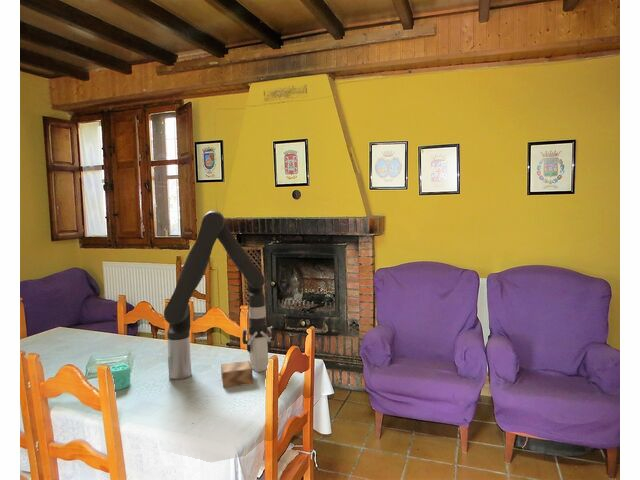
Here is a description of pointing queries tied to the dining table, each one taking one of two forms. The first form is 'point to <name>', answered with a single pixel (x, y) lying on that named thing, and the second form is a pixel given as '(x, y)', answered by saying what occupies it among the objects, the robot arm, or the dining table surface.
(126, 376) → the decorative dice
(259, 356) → the skincare box
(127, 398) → the dining table surface
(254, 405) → the dining table surface
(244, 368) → the walnut block
